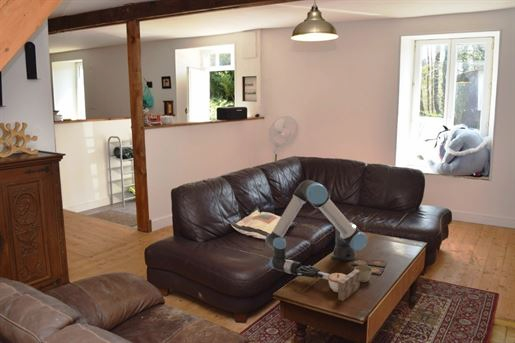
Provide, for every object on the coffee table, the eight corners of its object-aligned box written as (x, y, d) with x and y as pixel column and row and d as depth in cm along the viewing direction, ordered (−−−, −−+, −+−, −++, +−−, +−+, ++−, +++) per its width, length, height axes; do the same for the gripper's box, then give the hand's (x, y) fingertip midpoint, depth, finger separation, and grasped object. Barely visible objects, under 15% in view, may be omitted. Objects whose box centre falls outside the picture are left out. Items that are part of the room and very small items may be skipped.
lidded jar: (348, 294, 243) (348, 278, 241) (328, 293, 245) (328, 277, 243) (347, 286, 253) (348, 270, 252) (328, 285, 255) (328, 269, 254)
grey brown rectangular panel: (354, 286, 253) (355, 269, 252) (359, 287, 252) (360, 270, 250) (338, 299, 238) (338, 281, 236) (343, 300, 236) (343, 282, 234)
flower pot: (372, 277, 264) (373, 266, 263) (371, 284, 255) (371, 272, 253) (355, 276, 267) (355, 264, 266) (353, 282, 258) (353, 270, 257)
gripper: (299, 270, 271) (334, 279, 257) (287, 277, 261) (322, 287, 246) (299, 258, 270) (334, 266, 255) (287, 264, 259) (323, 274, 245)
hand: (328, 276), depth 251 cm, fingers closed
